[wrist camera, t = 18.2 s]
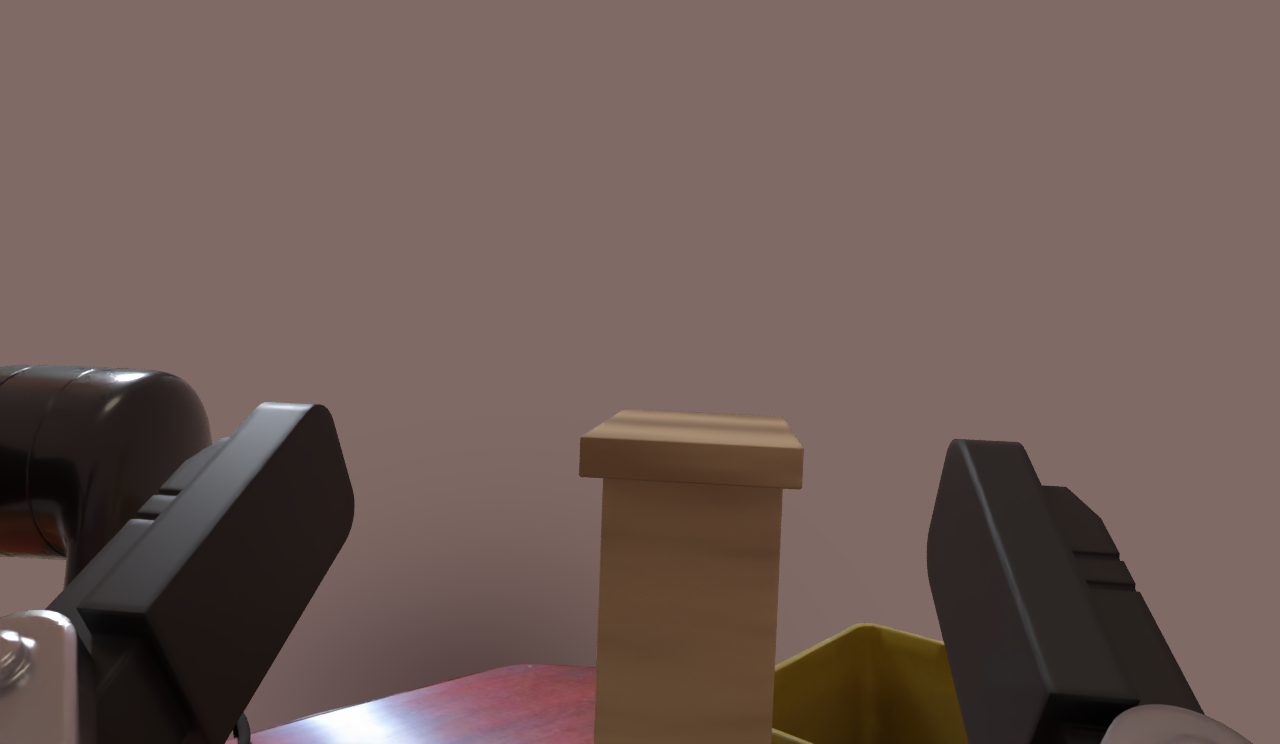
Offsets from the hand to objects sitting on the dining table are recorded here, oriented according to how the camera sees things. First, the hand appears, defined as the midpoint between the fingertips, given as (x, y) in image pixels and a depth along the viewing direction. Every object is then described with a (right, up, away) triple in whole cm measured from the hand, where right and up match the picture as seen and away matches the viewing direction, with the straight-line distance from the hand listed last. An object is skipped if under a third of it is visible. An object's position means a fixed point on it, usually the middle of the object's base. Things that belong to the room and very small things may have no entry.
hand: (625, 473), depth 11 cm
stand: (+1, -33, +26) cm, 42 cm away
